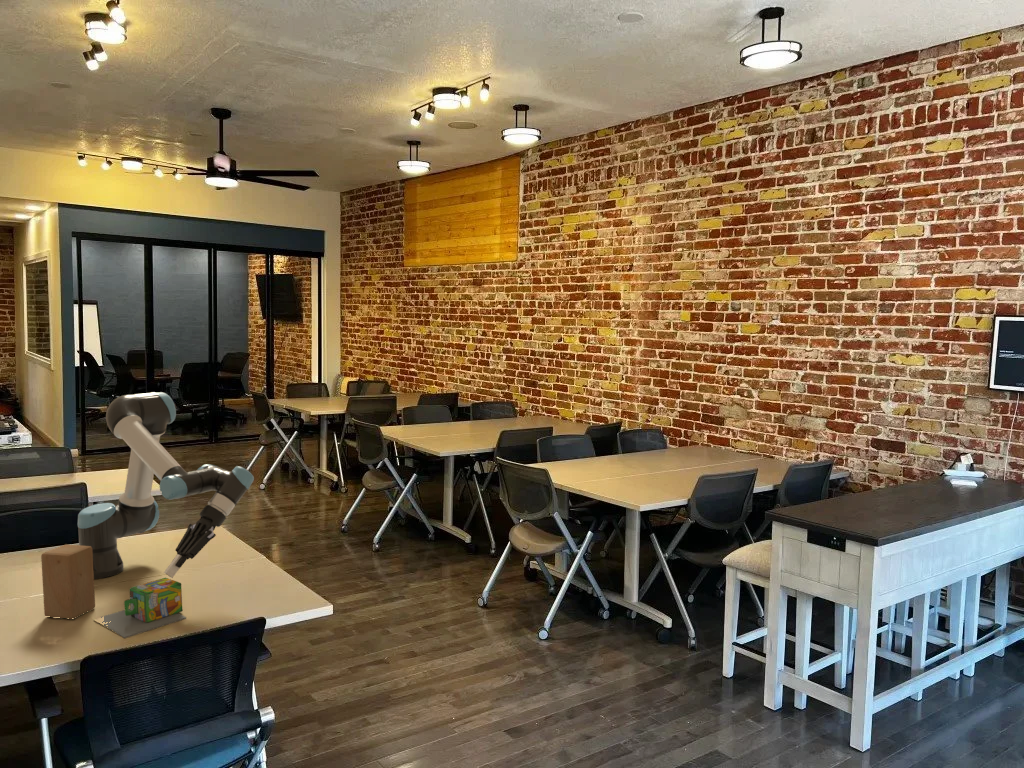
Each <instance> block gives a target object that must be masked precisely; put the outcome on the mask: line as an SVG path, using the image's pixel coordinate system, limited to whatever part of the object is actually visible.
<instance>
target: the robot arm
mask: <svg viewBox="0 0 1024 768" xmlns="http://www.w3.org/2000/svg"><path fill="white" fill-rule="evenodd" d="M176 416H177V408H176V405H175V402H174V401H173V399H172V397H171V396H170V395H168V393H165V392H162V391H160V392H155V391H151V392H146V393H134V394H133V393H132V394H124V395H121V396H118V397H116V398H114V399H113V400H112V402H111V403H110V404H109V405H108V407H107V410H106V414H105V419H106V425H107V427H108V429H109V430H110V432H111V433H112V434H113V435H114V437H116V438H117V439H120V440H123V441H124V442H125V443H126V445H127V446H128V447H129V448H130V455H129V461H128V469H127V474H126V483H125V488H124V492H123V493H122V494H120V495H119V497H118V502H117V505H115V504H114V503H111V502H103V503H97V504H96V503H95V504H92V505H89V506H86V507H85V508H82V510H80V511H79V513H78V514H77V528H78V529H77V531H78V532H77V533H78V545H81V546H91V547H92V552H93V572H94V580H96V579H98V578H99V579H104V578H108V577H113V576H115V575H118V574H120V573H122V572H123V571H124V566H125V565H124V561H123V559H122V556H121V555H120V551H119V549H118V544H117V543H118V541H117V540H118V539H122V538H124V537H128V536H132V535H135V534H141V533H144V532H146V531H151V530H152V528H154V527H155V526H156V525H157V523H158V521H159V518H160V509H159V504H158V503H157V501H156V500H155V498H154V496H153V495H152V494H151V493H152V488H153V482H154V475H155V476H156V477H157V478H158V480H159V481H160V482H159V491H160V493H161V495H162V497H163V498H164V499H166V500H179V499H183V498H186V497H190V496H194V495H200V494H203V493H206V492H211V491H215V492H214V494H213V495H212V497H211V498H210V499H209V501H207V505H205V506H204V507H203V509H201V510H200V512H199V516H200V518H199V519H198V520H197V521H196V522H195V524H192V523H190V524H188V525H187V529H186V531H185V533H184V535H183V536H182V538H181V540H180V541H179V542H178V544H177V546H176V548H175V550H174V551H175V552H176V555H175V557H174V558H173V559H172V561H171V562H170V563H169V564H168V566H167V567H166V569H164V571H163V574H165V575H166V576H168V577H170V579H171V578H172V579H173V578H174V577H175V576H176V574H177V572H178V571H179V570H180V569H181V568H182V566H183V565H184V563H185V562H186V561H187V560H190V559H191V560H192V559H194V558H195V557H196V556H197V555H198V554H199V553H200V552H201V550H203V548H204V547H205V546H207V544H208V543H209V542H210V541H211V540H212V539H214V538H215V537H217V534H215V533H214V531H215V530H216V527H217V528H220V527H221V526H222V525H223V523H224V522H225V521H226V520H227V516H229V515H230V513H231V512H232V511H233V509H234V508H235V507H236V506H237V505H238V503H239V502H240V500H241V499H242V498H243V496H244V495H245V494H246V492H247V491H248V490H249V489H250V487H251V486H252V484H253V482H254V480H255V477H254V475H253V474H252V473H251V471H249V470H248V469H246V468H245V467H243V466H238V465H236V466H235V467H234V468H233V469H231V470H227V469H224V468H222V467H219V466H218V465H215V464H210V463H207V464H206V463H205V464H203V465H201V466H200V467H198V468H197V470H192V471H186V470H185V469H184V468H183V467H182V466H181V465H180V464H179V462H178V461H177V460H176V459H175V458H174V457H173V455H171V454H170V453H169V452H168V451H167V450H166V448H165V447H164V446H163V445H162V444H161V443H160V440H161V436H162V435H164V434H165V433H166V431H167V426H168V425H170V424H172V423H173V422H174V421H175V420H176ZM99 579H98V580H99Z"/></svg>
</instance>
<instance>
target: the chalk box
mask: <svg viewBox="0 0 1024 768" xmlns="http://www.w3.org/2000/svg"><path fill="white" fill-rule="evenodd" d="M182 592H183V591H182V582H179V581H177V580H175V579H171V578H168V577H163V578H159V579H155V580H152V581H149V582H145V583H142V584H138V585H135V586H134V585H133V586H130V588H129V599H125V600H124V601H123V605H124V610H125V615H126V616H128V615H131V616H132V617H134V618H136V619H138V620H141V621H143V622H145V623H148V622H151V621H154V620H157V619H160V618H163V617H167V616H170V615H173V614H176V613H178V614H180V613H181V612H183V610H184V609H183V596H182V594H183V593H182ZM129 606H130V607H129ZM129 609H130V610H129Z"/></svg>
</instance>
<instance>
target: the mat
mask: <svg viewBox="0 0 1024 768" xmlns="http://www.w3.org/2000/svg"><path fill="white" fill-rule="evenodd" d="M129 610H130V608H129ZM103 616H104V621H103V622H105V623H106V622H108V623H107V624H104V626H106V625H108V626H106V627H108V628H109V629H111V630H113V631H114V632H116V633H117V634H116V633H115V634H116V635H118V634H119V635H118V636H119V637H121V636H122V638H123V639H127V638H130V637H133V636H136V635H139V634H143V633H145V632H149V631H152V630H156V629H157V628H161V627H164V626H166V625H170V624H174V623H176V622H180V621H182V620H183V621H184V620H187V616H185V615H183V614H180V613H176V614H173V615H170V616H167V617H163V618H160V619H157V620H154V621H151V622H148V623H145V622H143V621H141V620H138V619H136V618H134V617H132V616H131V615H128V616H126V615H125V609H123V610H120V611H117V612H113V613H110V614H106V615H103ZM103 616H100V617H101V618H102V617H103ZM110 621H111V622H110ZM103 622H102V623H103ZM109 622H110V623H109ZM104 626H103V627H104ZM106 627H105V628H106ZM109 629H108V630H109ZM111 630H110V631H111ZM113 631H112V632H113ZM114 632H113V633H114Z"/></svg>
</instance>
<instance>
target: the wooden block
mask: <svg viewBox="0 0 1024 768" xmlns="http://www.w3.org/2000/svg"><path fill="white" fill-rule="evenodd" d="M40 558H41V574H42V575H41V576H42V593H43V594H42V596H43V610H44V612H43V614H44V617H45V616H50V617H60V618H69V619H72V618H75V617H77V616H79V615H81V614H83V613H85V614H86V612H87V611H89V612H91V611H93V610H94V609H95V607H96V597H95V594H96V593H95V579H94V572H93V552H92V547H91V546H81V545H79V544H78V545H77V544H67V543H65V544H64V545H61V546H58V547H55V548H53V549H50V550H48V551H45V552H42V553H41V556H40ZM92 609H93V610H92ZM90 610H91V611H90ZM87 613H88V612H87ZM83 615H84V614H83ZM81 616H82V615H81ZM79 617H80V616H79ZM77 618H78V617H77ZM75 619H76V618H75Z"/></svg>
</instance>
